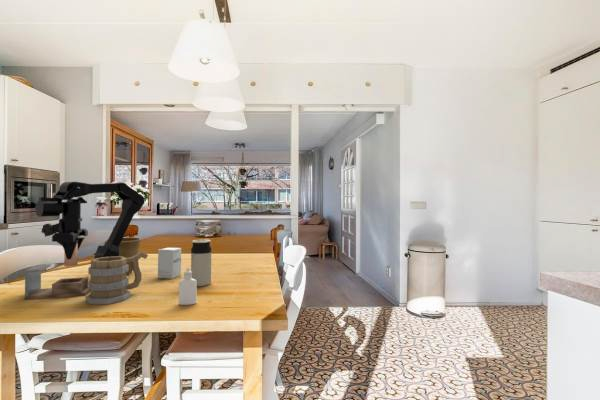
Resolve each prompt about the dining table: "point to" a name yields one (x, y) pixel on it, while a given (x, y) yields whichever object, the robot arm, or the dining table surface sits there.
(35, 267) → the socket block
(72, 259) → the peg
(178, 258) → the supplement box
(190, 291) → the eye dropper bottle
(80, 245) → the robot arm
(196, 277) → the travel mug
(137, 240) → the plant pot
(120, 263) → the tankard
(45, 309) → the dining table surface
